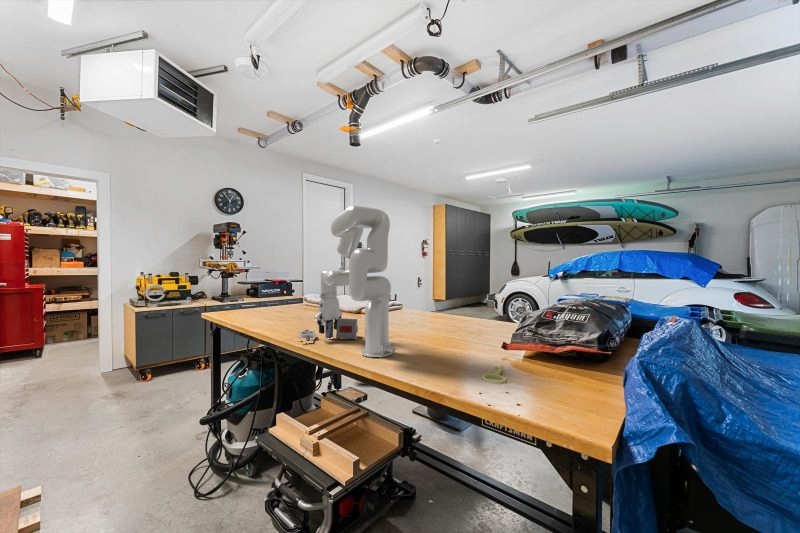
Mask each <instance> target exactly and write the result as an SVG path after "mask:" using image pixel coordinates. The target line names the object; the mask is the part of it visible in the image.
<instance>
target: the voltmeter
mask: <svg viewBox="0 0 800 533" xmlns="http://www.w3.org/2000/svg"><path fill="white" fill-rule="evenodd" d="M358 331H359V326H358V319H357V318H341V319H337V330H336V332H335V333H336V334H335V339H336V338H343V339H342V340H348V339H356V340H357V333H358Z"/></svg>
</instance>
